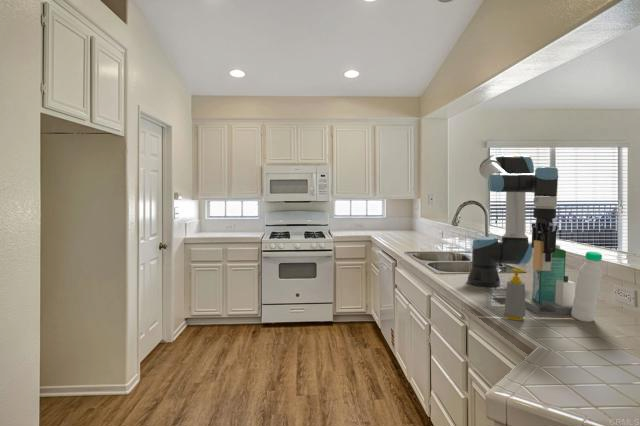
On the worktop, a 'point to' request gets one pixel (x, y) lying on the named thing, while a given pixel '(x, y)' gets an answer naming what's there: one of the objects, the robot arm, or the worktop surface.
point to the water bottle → (587, 288)
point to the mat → (500, 300)
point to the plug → (539, 255)
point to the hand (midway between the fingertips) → (542, 268)
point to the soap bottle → (515, 298)
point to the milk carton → (549, 277)
